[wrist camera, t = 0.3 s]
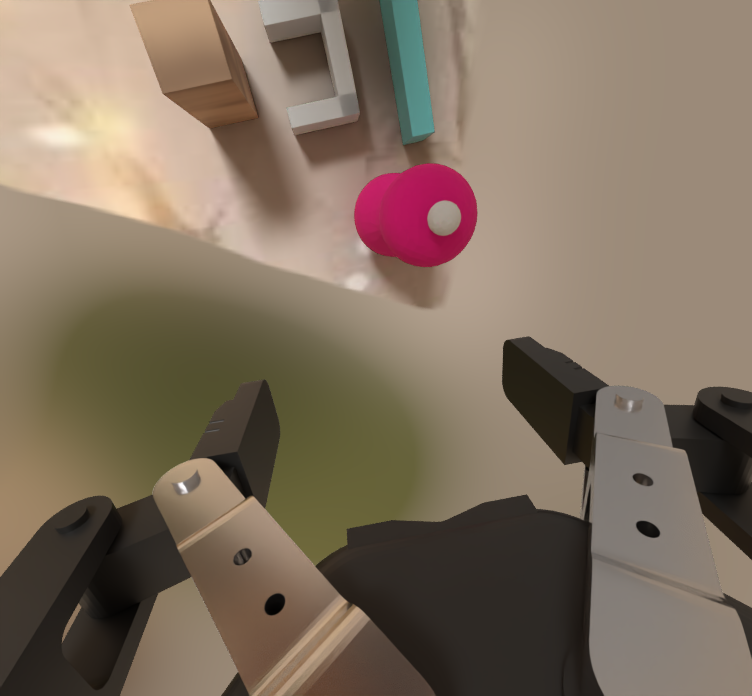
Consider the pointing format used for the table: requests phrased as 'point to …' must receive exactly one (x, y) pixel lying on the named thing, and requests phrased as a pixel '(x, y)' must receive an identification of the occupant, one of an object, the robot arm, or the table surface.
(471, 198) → the pepper mill
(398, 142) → the table surface
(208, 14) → the peg
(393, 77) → the wall
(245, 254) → the table surface
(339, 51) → the frame
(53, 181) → the table surface
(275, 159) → the table surface
